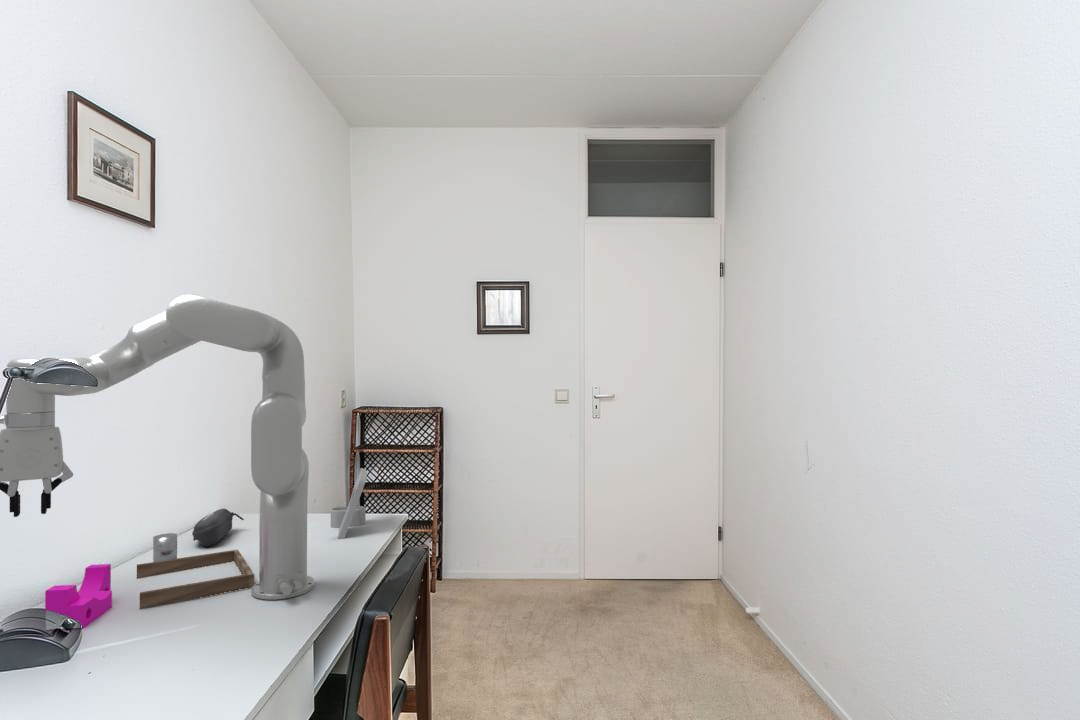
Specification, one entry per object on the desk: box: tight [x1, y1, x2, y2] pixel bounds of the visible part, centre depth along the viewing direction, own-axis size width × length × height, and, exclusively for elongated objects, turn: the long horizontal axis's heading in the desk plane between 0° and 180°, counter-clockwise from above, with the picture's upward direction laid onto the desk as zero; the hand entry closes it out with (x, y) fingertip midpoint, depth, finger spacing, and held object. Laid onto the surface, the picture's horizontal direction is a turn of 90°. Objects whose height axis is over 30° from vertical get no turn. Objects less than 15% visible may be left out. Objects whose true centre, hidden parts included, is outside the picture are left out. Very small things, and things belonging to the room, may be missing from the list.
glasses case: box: [191, 508, 245, 548], centre depth 173 cm, size 18×10×8 cm, turn 13°
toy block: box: [44, 563, 113, 629], centre depth 123 cm, size 15×6×8 cm, turn 8°
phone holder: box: [330, 467, 368, 540], centre depth 180 cm, size 17×10×18 cm, turn 16°
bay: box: [136, 549, 255, 610], centre depth 140 cm, size 22×21×3 cm
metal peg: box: [152, 532, 178, 562], centre depth 153 cm, size 5×5×7 cm
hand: (30, 513), depth 125 cm, fingers open, 3 cm apart
